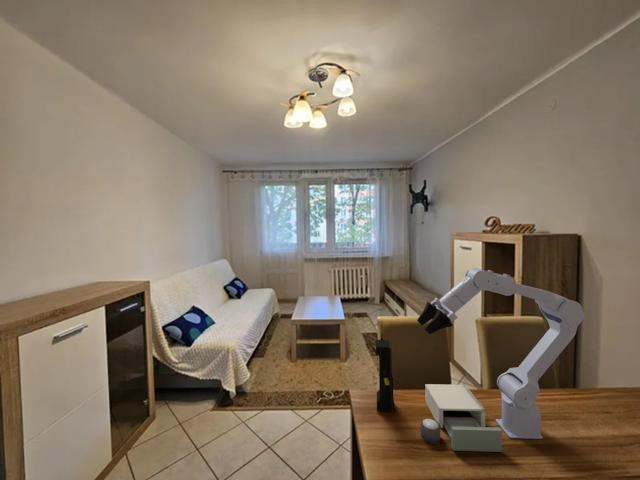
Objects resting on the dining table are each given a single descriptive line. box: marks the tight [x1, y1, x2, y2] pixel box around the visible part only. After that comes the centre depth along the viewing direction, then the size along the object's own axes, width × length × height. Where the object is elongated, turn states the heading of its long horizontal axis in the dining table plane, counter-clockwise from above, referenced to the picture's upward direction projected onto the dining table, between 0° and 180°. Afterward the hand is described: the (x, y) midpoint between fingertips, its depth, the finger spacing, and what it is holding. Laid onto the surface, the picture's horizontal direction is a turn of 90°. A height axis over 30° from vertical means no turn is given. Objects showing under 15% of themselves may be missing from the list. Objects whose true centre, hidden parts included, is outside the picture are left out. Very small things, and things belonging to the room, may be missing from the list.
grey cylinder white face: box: [420, 417, 441, 445], centre depth 84 cm, size 6×6×4 cm
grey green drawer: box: [443, 416, 503, 453], centre depth 85 cm, size 13×13×6 cm
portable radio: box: [375, 332, 395, 413], centre depth 99 cm, size 8×6×25 cm
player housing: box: [424, 383, 486, 429], centre depth 95 cm, size 14×14×6 cm
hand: (422, 327), depth 88 cm, fingers open, 7 cm apart
